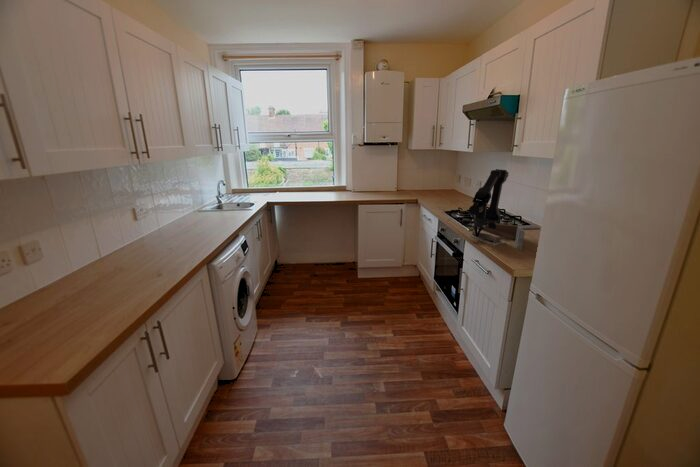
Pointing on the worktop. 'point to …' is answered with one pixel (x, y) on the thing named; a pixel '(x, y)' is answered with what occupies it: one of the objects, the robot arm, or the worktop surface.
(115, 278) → the worktop surface
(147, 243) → the worktop surface
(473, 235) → the packaged product
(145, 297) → the worktop surface
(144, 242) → the worktop surface
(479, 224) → the robot arm
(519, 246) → the brown piece
